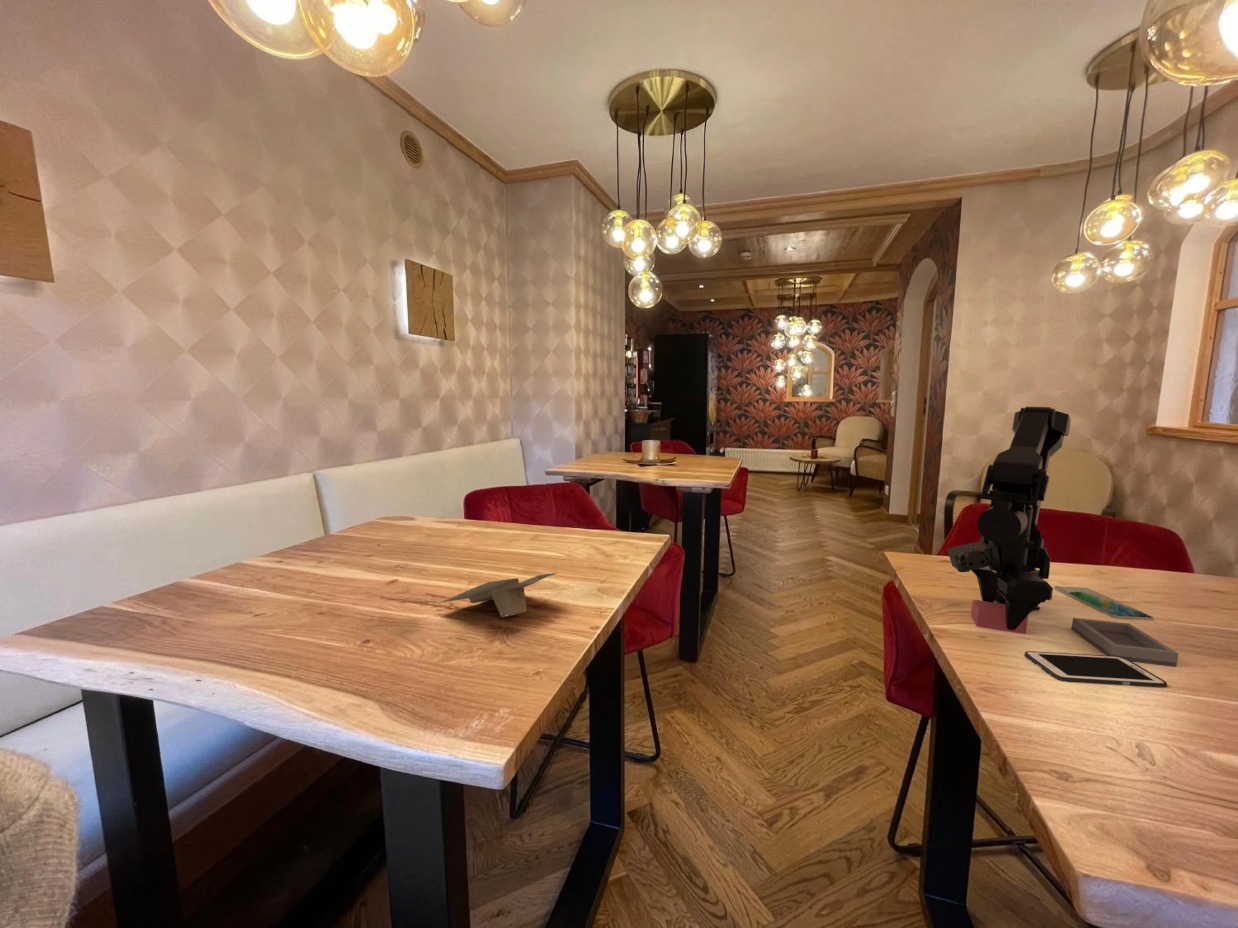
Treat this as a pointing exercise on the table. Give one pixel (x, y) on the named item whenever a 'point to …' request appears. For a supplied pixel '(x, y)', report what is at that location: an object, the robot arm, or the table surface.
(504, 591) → the grey winged bracket
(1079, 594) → the smartphone
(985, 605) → the card box
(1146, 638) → the pocket tray
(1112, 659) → the cell phone
